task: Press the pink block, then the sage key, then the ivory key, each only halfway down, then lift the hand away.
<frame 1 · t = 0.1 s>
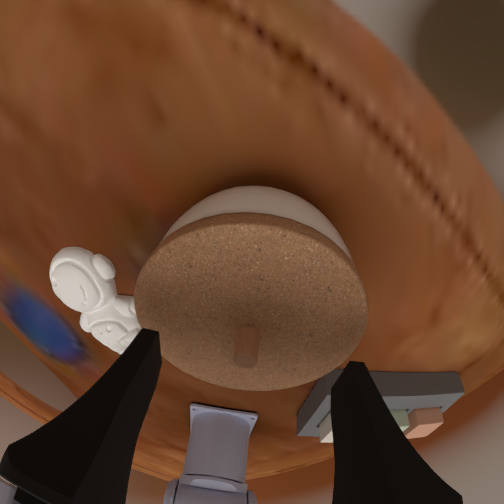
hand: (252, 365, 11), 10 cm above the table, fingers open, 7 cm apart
pink block: (420, 421, 27), point 4 cm above the table, slide at 0.0 cm
ivory key: (342, 425, 27), point 4 cm above the table, slide at 0.0 cm
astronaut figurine: (107, 300, 25), on the table
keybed: (379, 396, 30), on the table
lidded jar: (258, 238, 20), on the table
sage key: (384, 424, 27), point 4 cm above the table, slide at 0.0 cm
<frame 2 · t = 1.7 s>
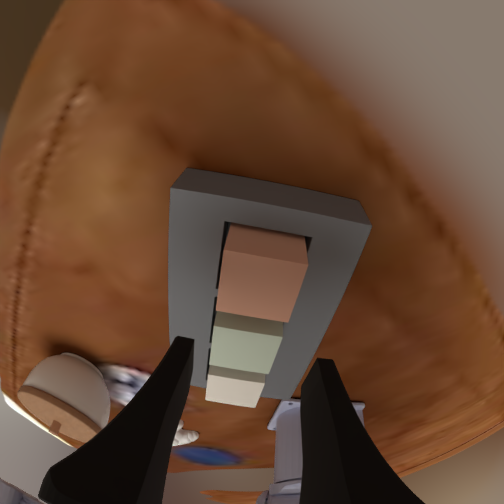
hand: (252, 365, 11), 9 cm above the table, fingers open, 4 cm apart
pink block: (260, 273, 16), point 4 cm above the table, slide at 0.0 cm
ivory key: (235, 378, 21), point 4 cm above the table, slide at 0.0 cm
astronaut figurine: (160, 425, 38), on the table
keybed: (249, 296, 22), on the table
lidded jar: (82, 367, 31), on the table
sage key: (245, 336, 19), point 4 cm above the table, slide at 0.0 cm
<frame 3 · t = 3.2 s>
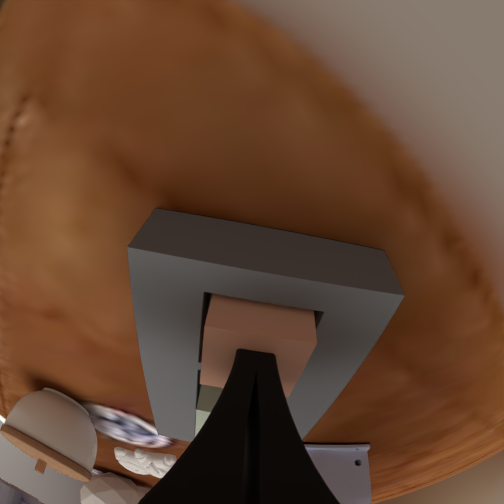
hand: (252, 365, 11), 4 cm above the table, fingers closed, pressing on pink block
geometric shape: (120, 475, 48), on the table
pink block: (254, 341, 12), point 3 cm above the table, slide at 0.7 cm, touching gripper
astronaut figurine: (153, 456, 34), on the table
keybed: (243, 355, 17), on the table
lidded jar: (66, 402, 26), on the table
sage key: (236, 409, 14), point 4 cm above the table, slide at 0.0 cm
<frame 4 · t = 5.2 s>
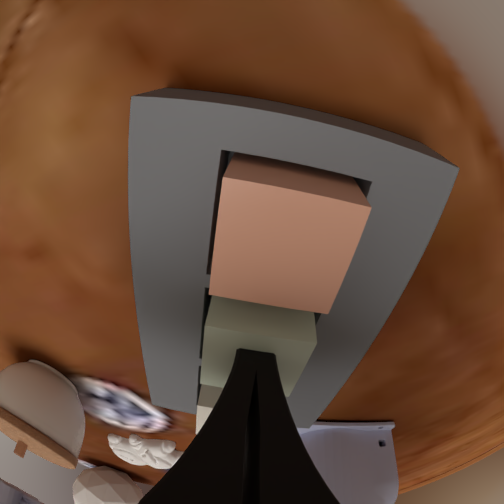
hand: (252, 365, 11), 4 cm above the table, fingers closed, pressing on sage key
geometric shape: (116, 469, 45), on the table
pink block: (283, 231, 9), point 3 cm above the table, slide at 0.7 cm
ivory key: (237, 406, 14), point 4 cm above the table, slide at 0.0 cm
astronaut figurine: (150, 444, 31), on the table
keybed: (259, 289, 15), on the table
lidded jar: (52, 377, 24), on the table
sage key: (254, 341, 12), point 3 cm above the table, slide at 0.5 cm, touching gripper
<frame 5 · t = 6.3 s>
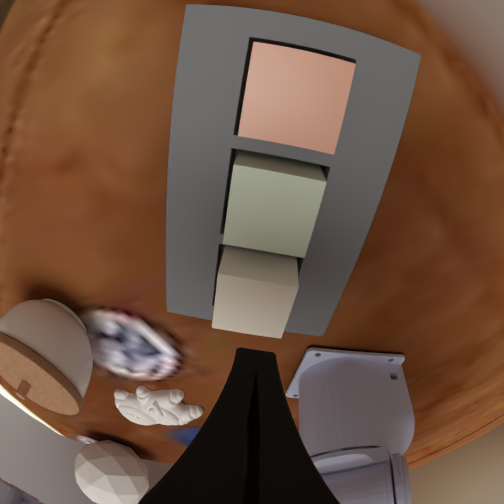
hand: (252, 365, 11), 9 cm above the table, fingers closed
geometric shape: (119, 444, 47), on the table
pink block: (294, 95, 11), point 3 cm above the table, slide at 0.7 cm
ivory key: (253, 292, 16), point 4 cm above the table, slide at 0.0 cm
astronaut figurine: (158, 400, 33), on the table
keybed: (272, 178, 17), on the table
lidded jar: (62, 319, 26), on the table
sage key: (272, 201, 14), point 3 cm above the table, slide at 0.7 cm
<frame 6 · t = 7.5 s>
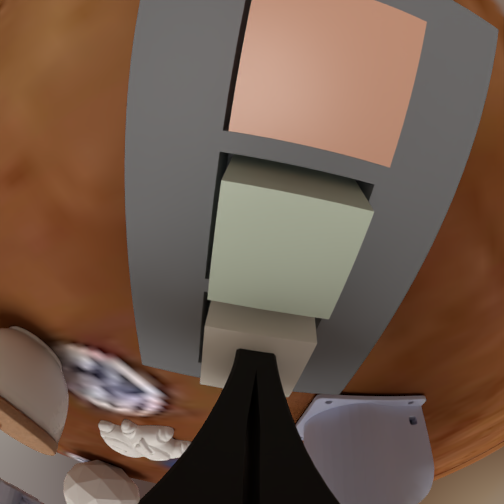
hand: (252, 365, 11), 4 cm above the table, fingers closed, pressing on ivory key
geometric shape: (110, 464, 42), on the table
pink block: (323, 67, 7), point 3 cm above the table, slide at 0.7 cm
ivory key: (254, 341, 12), point 3 cm above the table, slide at 0.7 cm, touching gripper
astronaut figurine: (146, 433, 28), on the table
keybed: (282, 195, 12), on the table
lidded jar: (35, 349, 21), on the table
sage key: (283, 235, 9), point 3 cm above the table, slide at 0.7 cm
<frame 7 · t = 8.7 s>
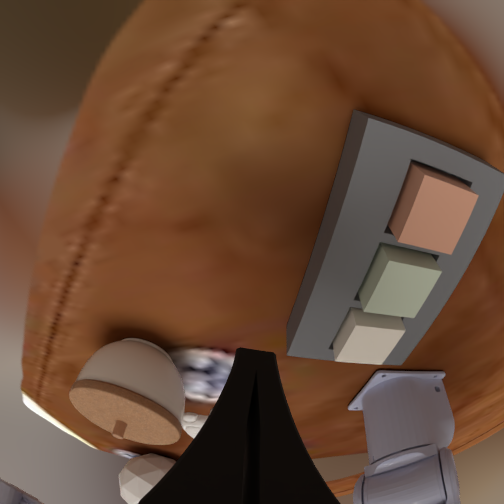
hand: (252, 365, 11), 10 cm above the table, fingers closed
geometric shape: (162, 456, 50), on the table
pink block: (430, 207, 15), point 3 cm above the table, slide at 0.7 cm
ivory key: (366, 332, 20), point 3 cm above the table, slide at 0.7 cm
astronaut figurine: (224, 419, 37), on the table
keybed: (384, 251, 20), on the table
lidded jar: (145, 355, 29), on the table
sage key: (397, 278, 17), point 3 cm above the table, slide at 0.7 cm
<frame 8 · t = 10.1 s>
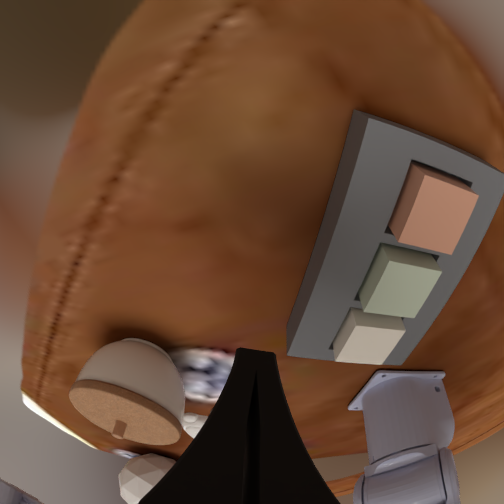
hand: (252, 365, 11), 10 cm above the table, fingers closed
geometric shape: (162, 456, 50), on the table
pink block: (430, 207, 15), point 3 cm above the table, slide at 0.7 cm
ivory key: (366, 333, 20), point 3 cm above the table, slide at 0.7 cm
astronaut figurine: (225, 419, 37), on the table
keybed: (384, 251, 20), on the table
lidded jar: (145, 355, 29), on the table
sage key: (397, 278, 17), point 3 cm above the table, slide at 0.7 cm
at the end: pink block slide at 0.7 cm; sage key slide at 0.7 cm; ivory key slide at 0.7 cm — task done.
